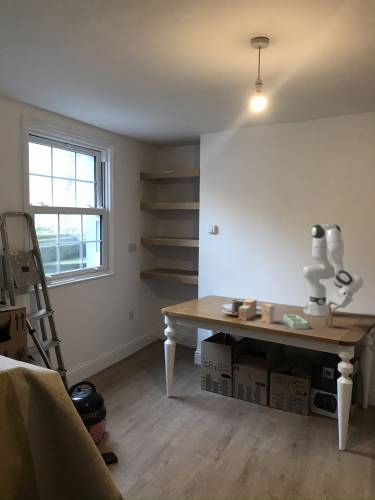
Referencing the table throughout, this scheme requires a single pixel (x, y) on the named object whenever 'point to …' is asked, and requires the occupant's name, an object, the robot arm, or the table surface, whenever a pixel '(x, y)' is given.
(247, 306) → the stack of blocks
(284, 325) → the mat
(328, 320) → the tan wooden tall piece
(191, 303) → the table surface
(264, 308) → the supplement box
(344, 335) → the table surface
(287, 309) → the table surface
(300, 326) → the rack
